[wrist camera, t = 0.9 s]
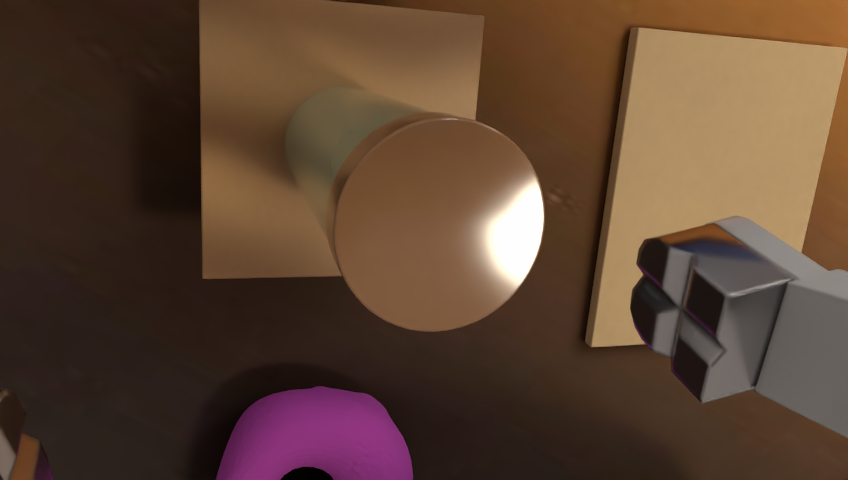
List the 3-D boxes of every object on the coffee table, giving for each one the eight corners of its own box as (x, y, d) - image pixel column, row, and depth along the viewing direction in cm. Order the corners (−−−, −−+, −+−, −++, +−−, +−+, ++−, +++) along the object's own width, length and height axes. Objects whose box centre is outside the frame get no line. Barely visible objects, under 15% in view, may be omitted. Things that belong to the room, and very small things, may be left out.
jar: (282, 79, 26) (338, 111, 14) (409, 86, 27) (558, 122, 15) (280, 207, 27) (329, 338, 15) (400, 208, 29) (533, 328, 17)
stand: (202, -3, 30) (198, -13, 24) (440, 20, 33) (485, 15, 27) (204, 239, 33) (202, 279, 27) (423, 238, 36) (461, 274, 30)
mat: (630, 27, 36) (638, 27, 35) (836, 48, 40) (848, 48, 39) (584, 342, 40) (590, 348, 40) (773, 331, 45) (782, 336, 44)
